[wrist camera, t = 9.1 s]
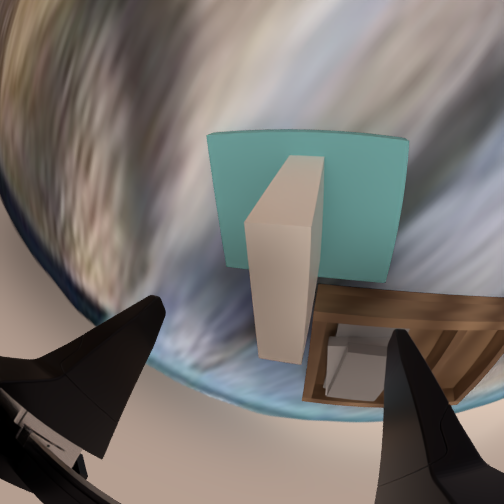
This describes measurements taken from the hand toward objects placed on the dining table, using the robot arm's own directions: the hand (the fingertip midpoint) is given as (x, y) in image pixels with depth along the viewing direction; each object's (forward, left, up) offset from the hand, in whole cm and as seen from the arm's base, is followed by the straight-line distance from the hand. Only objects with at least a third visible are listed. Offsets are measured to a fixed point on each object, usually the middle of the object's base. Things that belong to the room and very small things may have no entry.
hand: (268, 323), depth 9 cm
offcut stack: (-6, +14, -9) cm, 18 cm away
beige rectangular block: (0, 0, -9) cm, 9 cm away
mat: (0, 0, -10) cm, 10 cm away
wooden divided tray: (-11, +14, -10) cm, 21 cm away
